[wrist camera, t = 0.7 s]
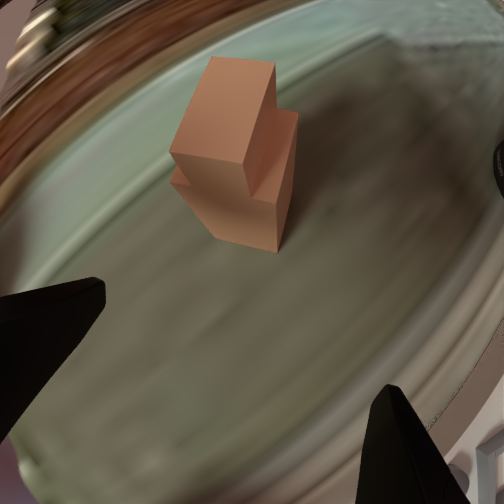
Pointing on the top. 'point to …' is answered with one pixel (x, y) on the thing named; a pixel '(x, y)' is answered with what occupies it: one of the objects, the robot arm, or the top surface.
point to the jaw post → (237, 153)
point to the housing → (477, 428)
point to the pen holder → (499, 166)
